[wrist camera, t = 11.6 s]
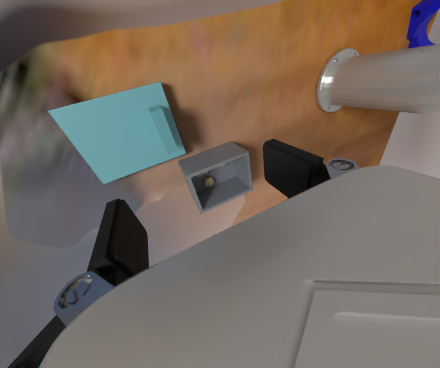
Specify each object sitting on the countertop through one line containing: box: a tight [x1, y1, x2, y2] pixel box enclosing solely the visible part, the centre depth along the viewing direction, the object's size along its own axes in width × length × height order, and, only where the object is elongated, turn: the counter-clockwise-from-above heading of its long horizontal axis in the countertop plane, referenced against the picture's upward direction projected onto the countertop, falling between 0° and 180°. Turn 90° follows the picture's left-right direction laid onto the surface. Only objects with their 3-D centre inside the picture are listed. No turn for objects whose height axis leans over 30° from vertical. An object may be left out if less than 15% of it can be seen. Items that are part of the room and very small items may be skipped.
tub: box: [178, 141, 253, 214], centre depth 34 cm, size 12×9×7 cm
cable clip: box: [407, 0, 440, 48], centre depth 39 cm, size 12×4×6 cm, turn 30°
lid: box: [48, 82, 186, 184], centre depth 25 cm, size 15×12×7 cm
